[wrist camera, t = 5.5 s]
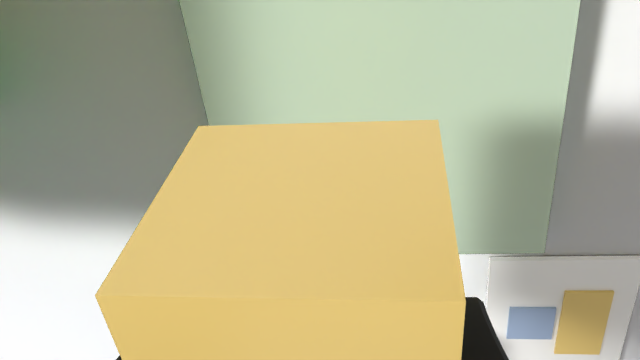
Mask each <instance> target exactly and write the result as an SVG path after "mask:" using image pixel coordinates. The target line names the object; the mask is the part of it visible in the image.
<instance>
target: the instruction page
mask: <svg viewBox="0 0 640 360" xmlns="http://www.w3.org/2000/svg"><path fill="white" fill-rule="evenodd" d="M639 286H640V256H534V257H489V269H488V282H487V296H486V311H487V314H488V316H489V319H490V321H491V323H492V326H493V328H494V330H495V332H496V335H497V337H498V339H499V341H500V343H501V345H502V347H503V349H504V351H505V353H506V355H507V357H508V359H509V360H619V359H620V355H621V352H622V348H623V344H624V341H625V337H626V333H627V330H628V326H629V323H630V319H631V315H632V312H633V308H634V304H635V301H636V297H637V293H638V290H639Z"/></svg>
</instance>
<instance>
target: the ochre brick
mask: <svg viewBox="0 0 640 360" xmlns="http://www.w3.org/2000/svg"><path fill="white" fill-rule="evenodd" d="M95 297H96V299H97V301H98V304H99V306H100V309H101V311H102V313H103V316H104V318H105V321H106V323H107V325H108V328H109V330H110V333H111V335H112V337H113V340H114V342H115V344H116V347H117V349H118V352H119V354H120V356H121V359H122V360H461V356H462V344H463V331H464V319H465V306H466V299H465V293H464V286H463V279H462V273H461V266H460V260H459V253H458V246H457V240H456V233H455V227H454V220H453V213H452V207H451V200H450V194H449V187H448V181H447V174H446V167H445V161H444V154H443V148H442V141H441V134H440V128H439V121H438V120H406V121H368V122H329V123H291V124H253V125H215V126H198V128H197V129H196V131H195V132H194V134H193V136H192V137H191V139H190V141H189V142H188V144H187V146H186V147H185V149H184V150H183V152H182V154H181V155H180V157H179V159H178V160H177V162H176V164H175V165H174V167H173V169H172V170H171V172H170V173H169V175H168V177H167V178H166V180H165V182H164V183H163V185H162V187H161V188H160V190H159V191H158V193H157V195H156V196H155V198H154V200H153V201H152V203H151V205H150V206H149V208H148V209H147V211H146V213H145V214H144V216H143V218H142V219H141V221H140V223H139V224H138V226H137V228H136V229H135V231H134V232H133V234H132V236H131V237H130V239H129V241H128V242H127V244H126V246H125V247H124V249H123V250H122V252H121V254H120V255H119V257H118V259H117V260H116V262H115V264H114V265H113V267H112V268H111V270H110V272H109V273H108V275H107V277H106V278H105V280H104V282H103V283H102V285H101V287H100V288H99V290H98V291H97V293H96V295H95Z"/></svg>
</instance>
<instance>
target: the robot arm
mask: <svg viewBox="0 0 640 360" xmlns="http://www.w3.org/2000/svg"><path fill="white" fill-rule="evenodd" d="M465 299H466V306H465V319H464V331H463V344H462V356H461V360H509V359H508V357H507V355H506V353H505V351H504V349H503V347H502V345H501V343H500V341H499V339H498V337H497V335H496V332H495V330H494V328H493V326H492V323H491V321H490V319H489V316H488V314H487V311H486V309H485V306H484V303H483V302H482V301H481V300H480V299H478V298H477V297H465ZM116 360H122V359H121V356H119V357H118V358H117V359H116Z"/></svg>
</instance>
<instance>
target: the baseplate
mask: <svg viewBox="0 0 640 360" xmlns="http://www.w3.org/2000/svg"><path fill="white" fill-rule="evenodd" d="M580 1H581V0H179V3H180V7H181V11H182V15H183V19H184V24H185V28H186V32H187V36H188V40H189V44H190V49H191V53H192V57H193V61H194V65H195V69H196V74H197V78H198V82H199V86H200V90H201V94H202V99H203V103H204V107H205V111H206V115H207V120H208V124H209V126H215V125H253V124H291V123H329V122H368V121H406V120H438V121H439V128H440V134H441V141H442V148H443V154H444V161H445V167H446V174H447V181H448V187H449V194H450V200H451V207H452V213H453V220H454V227H455V233H456V240H457V246H458V253H459V254H521V253H545V246H546V239H547V232H548V225H549V218H550V211H551V204H552V197H553V190H554V183H555V176H556V169H557V162H558V155H559V148H560V141H561V134H562V127H563V120H564V113H565V106H566V99H567V92H568V85H569V78H570V71H571V64H572V57H573V50H574V43H575V36H576V29H577V22H578V15H579V8H580Z"/></svg>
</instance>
